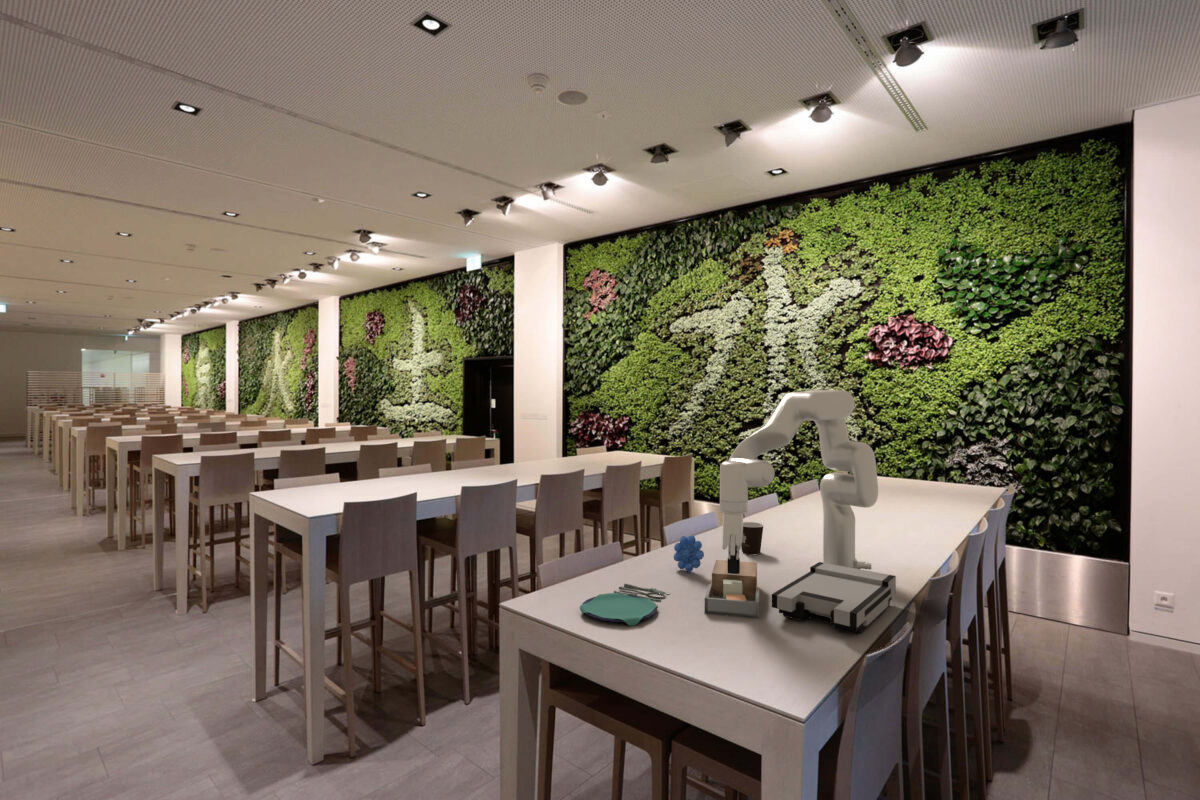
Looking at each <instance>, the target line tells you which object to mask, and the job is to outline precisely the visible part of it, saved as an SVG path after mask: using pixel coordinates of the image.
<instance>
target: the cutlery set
mask: <svg viewBox="0 0 1200 800" xmlns="http://www.w3.org/2000/svg"><path fill="white" fill-rule="evenodd" d="M638 589H639V590H640V591H639V590H638ZM618 590H622V591H628V592H631V593H628V592H621V591H618ZM618 590H617V591H616V590H613V593H612V592H608V593H600V594H598V595H596V596H593V597H590V598H587V599H586V600H585V601H583V602H582V603H581V605H580V606H579V610H580V612H581V614H583V615H584V616H585V615H588V616H589V617H591V618H594V619H597V620H601V621H605V622H611V623H612V622H613V623H626V624H627V625H628V626H629V627H635V626H636V625H637V624H639V623H640V621H641V620H645V619H648V618H650V617H652V616H654V615H655V614H656V613H657V611H658V609H659V605H658V604H656V603H655V602H661V601H662V599H663V598H665V597H666V596H669V595H670V594H666V593H667V592H666V591H662V590H658V589H657V588H653V587H651V588H645V587H640V586H637V585H633V584H629V583H624V584H623V586H618ZM644 591H648V592H644ZM650 591H651V592H650ZM632 592H633V593H632ZM665 592H666V593H665ZM659 593H660V594H659ZM638 594H641V595H638ZM650 594H657V595H656V596H653V595H650ZM664 594H666V595H664ZM642 595H645V596H642ZM660 595H661V596H660ZM662 596H663V597H662ZM652 597H653V598H652Z"/></svg>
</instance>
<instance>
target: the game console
mask: <svg viewBox="0 0 1200 800" xmlns="http://www.w3.org/2000/svg"><path fill="white" fill-rule="evenodd" d="M896 582H897V576H896V575H892V574H888V573H882V572H881V573H880V572H876V571H870V570H867V569H855V568H849V567H844V566H839V565H833V564H828V563H823V561H822V562H821V561H818V562H817V563H815V564H813V565H812V566H811V565H810V568H809V572H806V573H805V574H803V575H802V576H800V577H799V578H797V579H795V580H793V581H792V582H790V583H788V584H787V585H785V586H783V587H782V588H780V589H778V590H776V591H774V592H773V593H771V608H772V609H773V608H774V609H777V610H778V613H779V614H781V615H782V616H783V615H784V616H783V617H786V616H788V617H787V618H790V617H792V618H791V619H794V618H795V620H798V619H799V620H798V621H802V620H803V622H807V621H808V620H810V619H811V618H812V617H813V615H814V616H815V615H818V616H822V617H826V618H830V626H831V627H833V629H834V628H835V630H838V629H839V630H840V631H842V630H843V631H844V632H846V631H848V632H847V633H850V632H851V633H850V634H854V633H855V635H858V634H860V635H861V634H862V633H863V632H865V630H867V627H868V626H869V625H870V624H871V623H872V622H873V621H874V620H875V619H876V620H877V619H878V618H879V617H880V616H881V615H882V614H883V613H884V611H885V610H886V609H887V608H888V607H889V608H890V605H891V600H892V599H893V595H895V594H896V592H897V590H896V588H897V587H896V586H897V583H896ZM889 608H888V609H889ZM888 609H887V610H888ZM887 610H886V611H887ZM886 611H885V612H886ZM810 617H811V618H810ZM806 620H807V621H806ZM876 620H875V621H876ZM875 621H874V622H875ZM874 622H873V623H874ZM873 623H872V624H873ZM872 624H871V625H872ZM871 625H870V626H871ZM870 626H869V627H870ZM869 627H868V628H869ZM839 630H838V631H839ZM843 631H842V632H843Z"/></svg>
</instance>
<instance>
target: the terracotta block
mask: <svg viewBox="0 0 1200 800" xmlns="http://www.w3.org/2000/svg"><path fill="white" fill-rule="evenodd" d="M726 599H731V600H742V601H746V598H745V595H736V594H726Z"/></svg>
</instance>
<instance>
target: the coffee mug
mask: <svg viewBox="0 0 1200 800" xmlns="http://www.w3.org/2000/svg"><path fill="white" fill-rule="evenodd" d="M763 531H764V524H763V523H761V522H754V521H753V522H752V521H743V537H742V545H741V553H742V552H743V553H742V554H744V553H745V555H749V554H757V555H760V554H761V550H762V543H763V542H762V540H763ZM759 553H760V554H759Z"/></svg>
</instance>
